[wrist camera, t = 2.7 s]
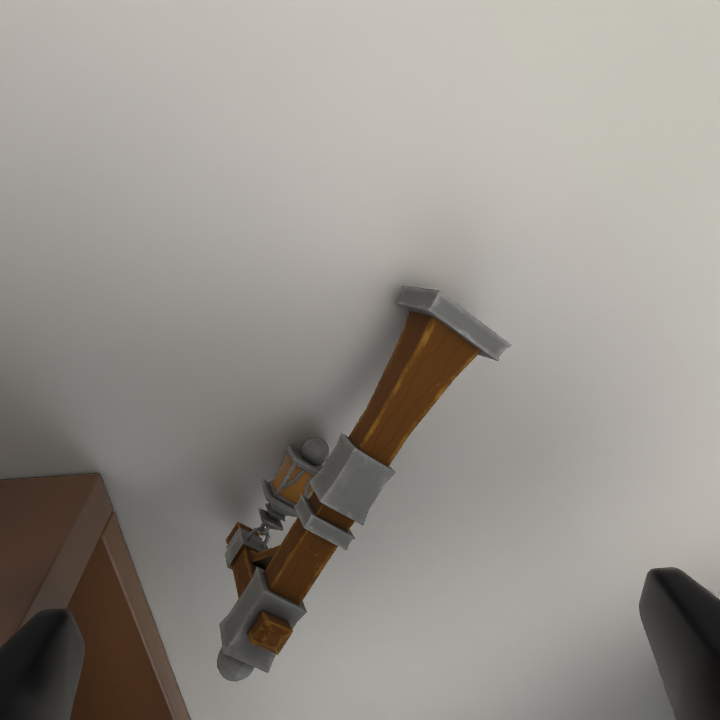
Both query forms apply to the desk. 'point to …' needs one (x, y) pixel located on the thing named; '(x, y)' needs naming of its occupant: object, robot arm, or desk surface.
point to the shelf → (84, 594)
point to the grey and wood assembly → (340, 481)
